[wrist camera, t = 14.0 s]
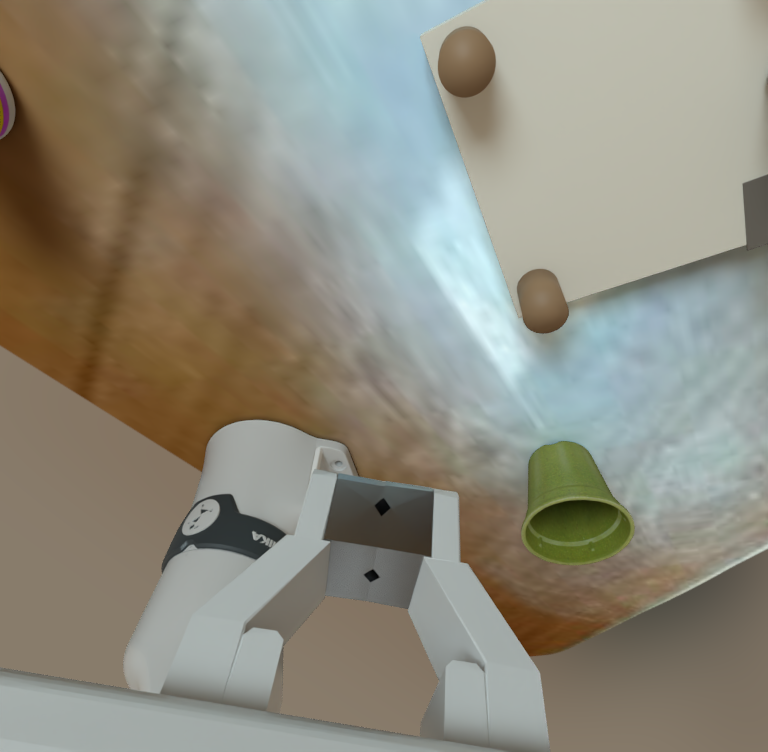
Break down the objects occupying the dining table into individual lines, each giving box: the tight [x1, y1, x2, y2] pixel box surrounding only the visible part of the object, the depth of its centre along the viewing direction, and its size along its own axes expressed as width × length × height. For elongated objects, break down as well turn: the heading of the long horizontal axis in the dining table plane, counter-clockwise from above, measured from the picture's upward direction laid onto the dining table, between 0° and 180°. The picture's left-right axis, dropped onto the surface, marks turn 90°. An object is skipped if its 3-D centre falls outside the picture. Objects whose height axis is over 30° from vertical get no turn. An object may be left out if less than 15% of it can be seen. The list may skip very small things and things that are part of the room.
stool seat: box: [420, 0, 768, 333], centre depth 31 cm, size 20×20×6 cm
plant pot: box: [521, 441, 635, 565], centre depth 49 cm, size 9×9×9 cm
